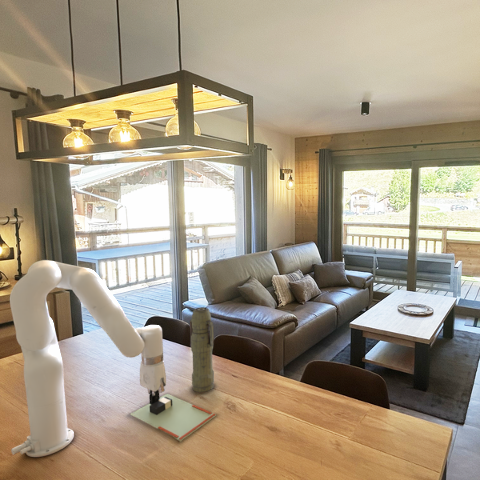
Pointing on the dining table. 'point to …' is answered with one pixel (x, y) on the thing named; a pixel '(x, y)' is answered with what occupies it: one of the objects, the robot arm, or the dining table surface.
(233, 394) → the dining table surface
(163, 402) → the eraser
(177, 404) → the desk mat
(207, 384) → the thermos
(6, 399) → the dining table surface
